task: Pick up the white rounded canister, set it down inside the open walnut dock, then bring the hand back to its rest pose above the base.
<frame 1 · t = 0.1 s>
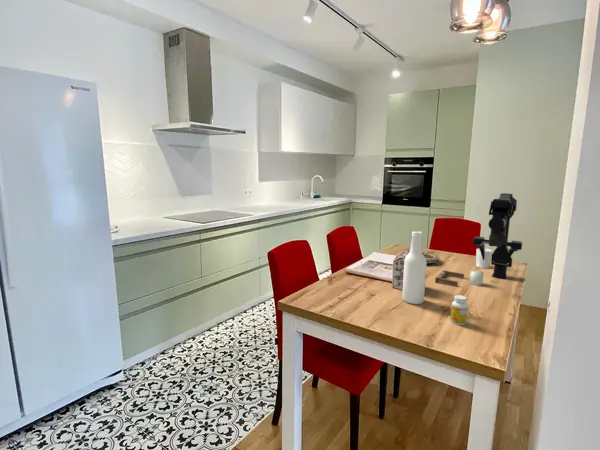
hand: (495, 261, 151), 14 cm above the table, fingers open, 9 cm apart
pie: (420, 262, 204), on the table
supplement bottle: (458, 322, 124), on the table
alcohol: (412, 301, 143), on the table
decorative jar: (408, 287, 159), on the table
white cup: (482, 266, 193), on the table
white rounded canister: (475, 283, 164), on the table
dock: (448, 280, 170), on the table
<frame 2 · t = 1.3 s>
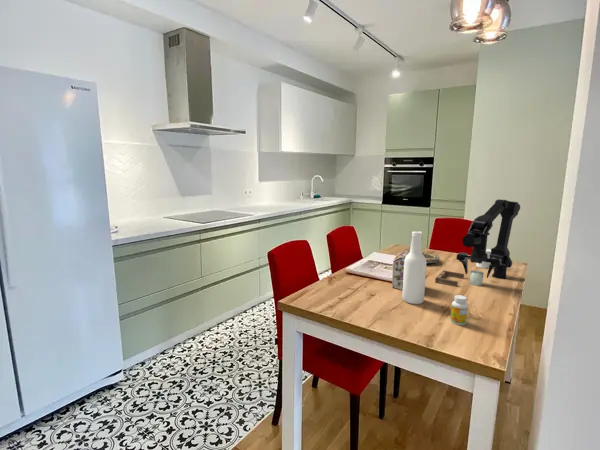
hand: (476, 275, 164), 4 cm above the table, fingers open, 9 cm apart
nothing on the table moved.
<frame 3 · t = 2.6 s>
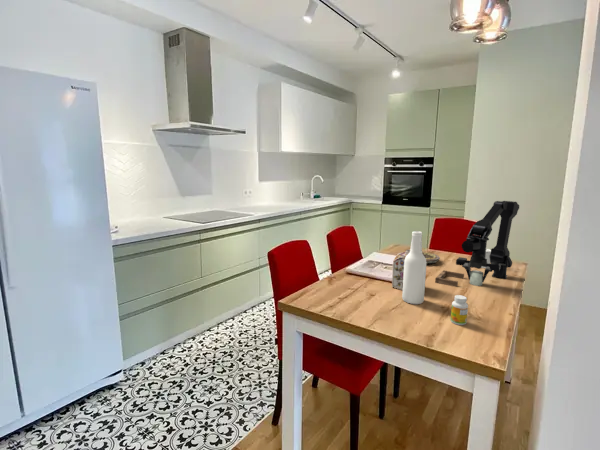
hand: (476, 280, 164), 2 cm above the table, fingers closed on white rounded canister, 6 cm apart
white rounded canister: (475, 283, 164), on the table, touching gripper
everything else where it was.
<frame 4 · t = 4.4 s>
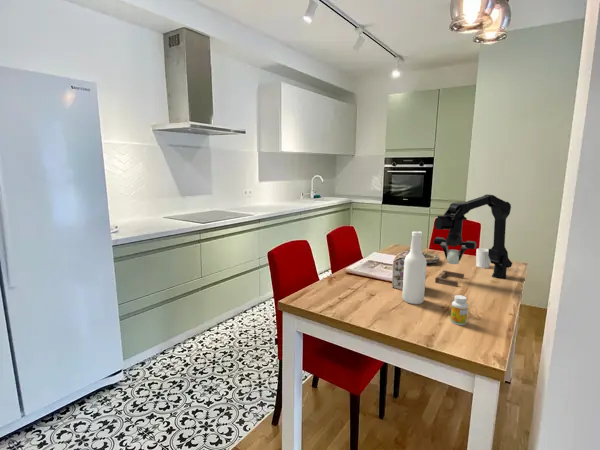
hand: (453, 259, 167), 11 cm above the table, fingers closed on white rounded canister, 6 cm apart
white rounded canister: (452, 262, 168), point 9 cm above the table, touching gripper
everything else where it was.
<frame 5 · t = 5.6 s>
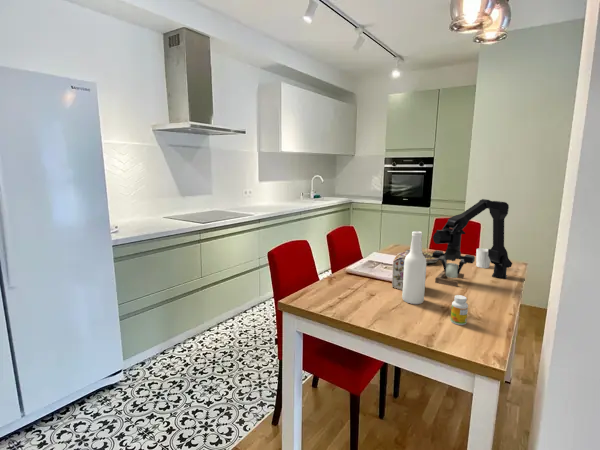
hand: (451, 273, 169), 4 cm above the table, fingers closed on white rounded canister, 6 cm apart
white rounded canister: (451, 276, 169), point 2 cm above the table, touching gripper
everything else where it was.
when the fingers open (3 cm above the table, at t = 6.5 s): white rounded canister drops 2 cm, on the table.
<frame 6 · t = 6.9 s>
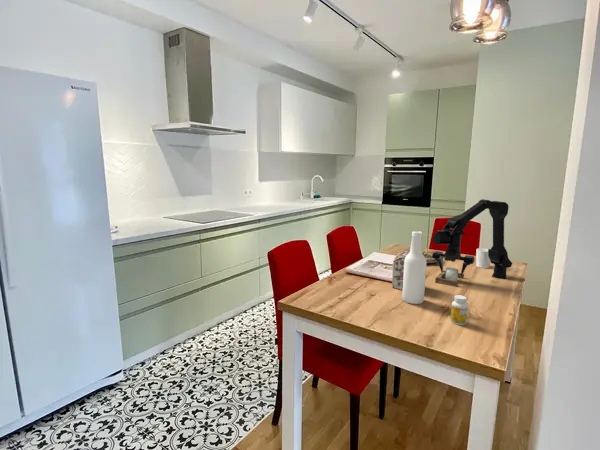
hand: (451, 273, 169), 3 cm above the table, fingers open, 9 cm apart
white rounded canister: (451, 280, 169), on the table
everything else where it was.
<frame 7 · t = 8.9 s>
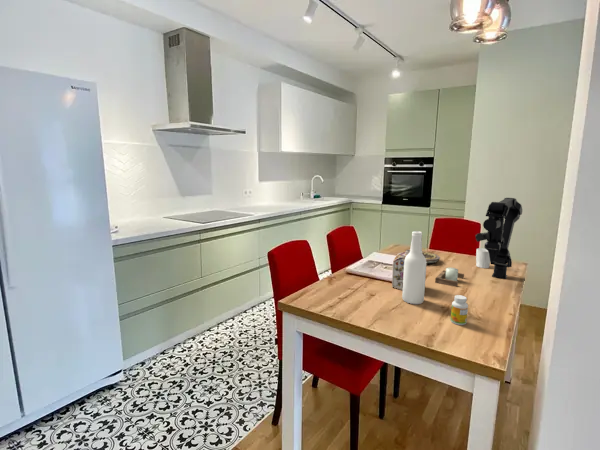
hand: (493, 259, 164), 12 cm above the table, fingers open, 9 cm apart
nothing on the table moved.
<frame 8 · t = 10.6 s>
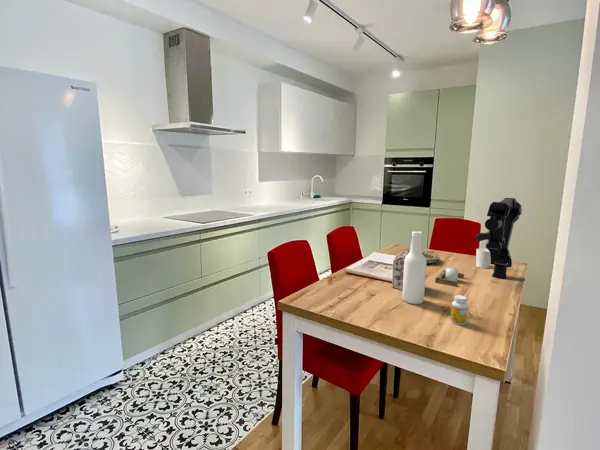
hand: (493, 259, 164), 12 cm above the table, fingers open, 9 cm apart
nothing on the table moved.
at the end: white rounded canister inside the target area (0.1 cm from its centre), on the table; white rounded canister tilted 0°; the gripper is holding nothing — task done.
